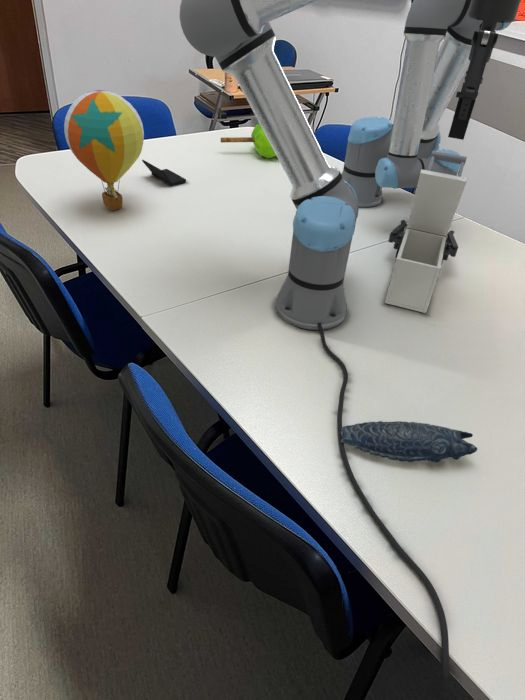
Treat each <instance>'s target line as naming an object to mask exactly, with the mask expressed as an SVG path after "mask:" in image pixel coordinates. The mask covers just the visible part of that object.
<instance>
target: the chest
mask: <svg viewBox="0 0 525 700" xmlns="http://www.w3.org/2000/svg"><path fill="white" fill-rule="evenodd" d="M445 241H446V237H445V236H440V235H435V234H431V233H426V232H421V231H417V230H412V229H406V232H405V235H404V238H403V241H402V244H401V247H400V249H399V252H398V255H397V258H395V261H394V265H393V270H392V274H391V278H390V282H389V285H388V289H387V293H386V296H385V299H384V303H385V304H387V305H392V306H395V307H399V308H404V309H407V310H412V311H416V312H420V313H422V314H423V313H424V314H427V312H428V308H429V305H430V303H431V300H432V296H433V293H434V290H435V287H436V284H437V281H438V278H439V276H440V273H441V268H442V265H441V263H442V264H443V262H442V258H443V252H444V247H445Z"/></svg>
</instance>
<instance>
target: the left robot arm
mask: <svg viewBox="0 0 525 700" xmlns="http://www.w3.org/2000/svg"><path fill="white" fill-rule="evenodd" d="M317 1H318V0H181V1H180V6H179V22H180V28H181V30H182V33H183V36H184V37H185V39H186V40H187V42H188V43H189V45H190V46H191V47H192V48H193V49H195V50H196V51H197V52H199V54H202V55H205V56H209V57H214V58H215V60H216V61H217V63H218V65H219V67H220V69H221V70H222V72H223V73H226V74H228V75H231V76H233V77H234V78H235V80H236V82H237V84H238V85H239V87H240V89H241V91H242V93H243V95H244V97H245V99H246V101H247V103H248V104H249V107H250V108H251V110H252V112H253V114H254V116H255V118H256V120H257V121H258V124H259V123H260V125H261V127H262V129H263V131H264V133H265V135H266V137H267V139H268V141H269V142H270V144H271V146H272V148H273V150H274V152H275V154H276V156H275V157H277V160H278V161H279V163H280V165H281V167H282V169H283V172H284V173H285V175H286V176H287V178H288V181H289V183H290V184H291V187H292V188H291V191H290V195H289V198H290V199H291V201H292V204H293V205H294V207H295V209H296V210H295V215H294V217H293V219H292V237H291V246H290V255H289V262H288V263H289V264H288V270H287V271H288V272H287V275H286V278H285V279H284V282H283V283H282V285H281V287H280V290H279V291H278V294H277V296H276V301H275V311H276V313H277V315H278V316H279V317H280V318H281V319H282V320H283V321H284V322H286V323H287V324H289V325H291V326H293V327H296V328H300V329H304V330H310V331H318V332H319V335H320V340H321V345H322V347H323V349H324V351H325V352H326V353H327V355H328V356H329V357H330V358H332V359H333V360H334V361H335V362H336V363H337V364H338V366H340V368H341V370H342V374H343V379H342V384H341V387H340V392H339V397H338V407H337V408H338V409H337V415H336V416H337V418H336V422H337V423H336V424H337V425H336V426H337V427H336V429H337V441H338V447H339V448H338V449H339V452H340V453H339V454H340V457H341V460H342V464H343V466H344V468H345V469H344V470H345V471H346V474H347V477H348V479H349V481H350V483H351V485H352V487H353V489H354V491H355V492H356V494H357V496H358V497H359V500H360V501H361V503H362V504H363V506H364V508H365V509H366V511H367V512H368V514H369V515H370V517H371V518H372V519H373V521H374V522H375V524H376V525H377V526H378V528H379V529H380V530H381V532H382V533H383V535H384V536H385V538H387V540H388V541H389V543H390V544H391V545H392V546H393V548H394V549H395V551H397V553H398V554H399V555H400V556H401V558H402V559H403V560H404V561H405V562H406V563H407V564H408V566H410V568H411V569H412V570H413V571H414V573H415V574H417V576H418V577H419V578H420V580H421V582H422V583H423V584H424V586H425V588H426V589H427V591H428V592H429V594H430V597H431V599H432V601H433V604H434V607H435V609H436V613H437V617H438V621H439V628H440V644H441V647H440V648H441V676H442V677H443V678H444V679H445V680H448V679H450V678H449V677H450V645H449V644H450V643H449V642H450V641H449V630H448V629H449V628H448V623H447V618H446V614H445V611H444V608H443V605H442V602H441V600H440V597H439V595H438V593H437V591H436V589H435V587H434V585H433V584H432V582H431V580H430V579H429V578H428V576H427V574H425V572H423V570H422V569H421V567H420V566H418V565H417V563H416V562H415V561H414V560H413V559H412V558H411V557H410V555H409V554H407V552H406V551H405V550H404V548H403V547H402V546H401V545H400V544H399V542H398V540H397V539H396V538H395V537H394V535H393V534H392V533H391V532H390V530H389V529H388V528H387V526H386V525H385V524H384V523H383V521H382V520H381V519H380V517H379V516H378V514H377V513H376V511H375V510H374V508H373V506H372V505H371V504H370V502H369V501H368V499H367V498H366V496H365V494H364V492H363V490H362V489H361V487H360V485H359V483H358V481H357V479H356V477H355V475H354V472H353V470H352V467H351V464H350V462H349V459H348V456H347V452H346V448H345V443H342V442H341V439H342V437H341V434H340V432H341V429H342V427H343V411H344V409H343V408H344V400H345V392H346V389H347V385H348V380H349V372H348V369H347V366H346V365H345V363H344V362H343V361H342V360H341V359H340V358H339V357H338V356H337V355H336V354H335V353H334V352H333V351H332V350H331V349H330V348H329V346H328V344H327V341H326V336H325V332H324V330H325V331H326V330H329V329H333V328H336V327H337V326H339V325H340V324H342V323H343V322H344V320H345V318H346V315H347V310H348V309H347V308H348V307H347V306H348V305H347V297H346V292H345V286H344V280H345V275H346V271H347V267H348V266H347V265H348V260H349V257H350V251H351V245H352V241H353V236H354V235H355V230H356V224H357V220H358V218H359V217H358V216H359V211H360V210H359V209H360V207H359V206H358V199H357V195H356V193H355V191H354V189H353V188H352V187H351V185H350V184H348V183H347V182H346V181H344V179H343V177H342V175H341V174H342V172H341V170H340V169H339V168H338V167H335V166H332V165H330V164H329V163H328V160H327V159H326V157H325V155H324V153H323V151H322V149H321V146H320V144H319V142H318V140H317V138H316V136H315V134H314V132H313V130H312V128H311V125H310V124H309V122H308V119H307V117H306V115H305V113H304V111H303V109H302V107H301V105H300V103H299V100H298V99H297V96H296V95H295V92H294V90H293V88H292V86H291V84H290V82H289V80H288V78H287V75H286V74H285V71H284V69H283V68H282V65H281V63H280V61H279V60H278V57H277V55H276V53H275V50H274V49H275V43H276V40H277V36H276V34H275V32H274V29H273V27H272V25H271V23H270V22H272V21H274V20H276V19H278V18H281V17H283V16H285V15H288V14H290V13H292V12H295V11H296V10H299V9H301V8H303V7H306V6H308V5H310V4H312V3H313V4H314V3H315V2H317ZM521 1H522V0H472V1H471V5H470V8H469V12H468V16H469V17H470V18H472V19H476V20H483V22H481V24H480V26H479V27H480V29H479V31H474V35H473V38H472V42H471V45H472V47H471V51H470V54H469V60H470V64H469V66H468V68H467V70H466V72H465V75H464V82H462V86H461V90H460V91H456V95H455V98H457V99H458V100H457V103H456V107H455V111H454V114H453V117H452V122H451V125H450V129H449V132H448V136H447V138H451V139H456V140H462V141H464V139H465V136H466V133H467V130H468V126H469V123H470V120H471V116H472V113H473V110H474V107H475V103H476V100H477V97H478V96H479V89H480V86H481V85H482V84H483V80H484V77H483V76H484V72H485V69H486V66H487V63H489V62H490V59H491V56H492V54H493V50H494V49H495V47H496V44H497V41H498V38H499V33H497V31H496V30H495V27H496V24H497V22H501V23H511V24H512V23H513V22H515V19H516V17H517V14H518V10H519V8H520V5H521Z"/></svg>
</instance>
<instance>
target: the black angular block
mask: <svg viewBox="0 0 525 700" xmlns="http://www.w3.org/2000/svg"><path fill="white" fill-rule="evenodd" d="M141 161H142V163H143V164H144V165H145V167H147V169H148V170H149V171H150V172H151V174H150V175H151V176H153V177H155V178H156V179H158V180H160V181H162V182H163V183H165V184H167V185H168V186H170V187H172V186H177V185H180V184H184V183H185V184H186V183H187V179H186V178H184V177H183V176H181V175H179V174H177V173H175V172H173V171H172V170H170V169H168V168H164V169H161V168H159V167H157V166H155V165H153V164H151V163H150V162H148V161H146V160H145V159H142V160H141Z"/></svg>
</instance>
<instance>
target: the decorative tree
mask: <svg viewBox="0 0 525 700" xmlns="http://www.w3.org/2000/svg"><path fill="white" fill-rule="evenodd" d="M220 143H252V144H253V145H254V148H255V149H256V151H257V153H258V154H259V156H262V157H264V158H266V159H272V158H274V157H277V156H276V154H275V152H274V150H273V148H272V146H271V144H270V142H269V141H268V139H267V137H266V135H265V133H264V131H263V129H262V127H261V125H260V123H259V122H258V123H257V124H255V126H254V128H253V129H252V131H251V136H246V137H245V136H244V137H243V136H241V137H239V136H238V137H237V136H236V137H235V136H234V137H232V136H231V137H227V136H226V137H220Z"/></svg>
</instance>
